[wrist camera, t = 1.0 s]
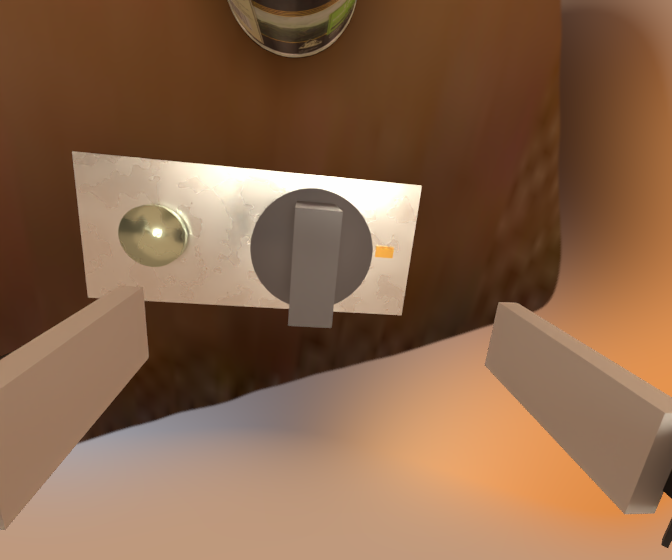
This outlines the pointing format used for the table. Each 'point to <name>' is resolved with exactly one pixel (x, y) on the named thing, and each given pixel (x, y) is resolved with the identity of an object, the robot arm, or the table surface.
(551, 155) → the table surface
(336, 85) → the table surface
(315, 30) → the coffee can
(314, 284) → the wing knob
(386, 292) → the base plate
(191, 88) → the table surface
